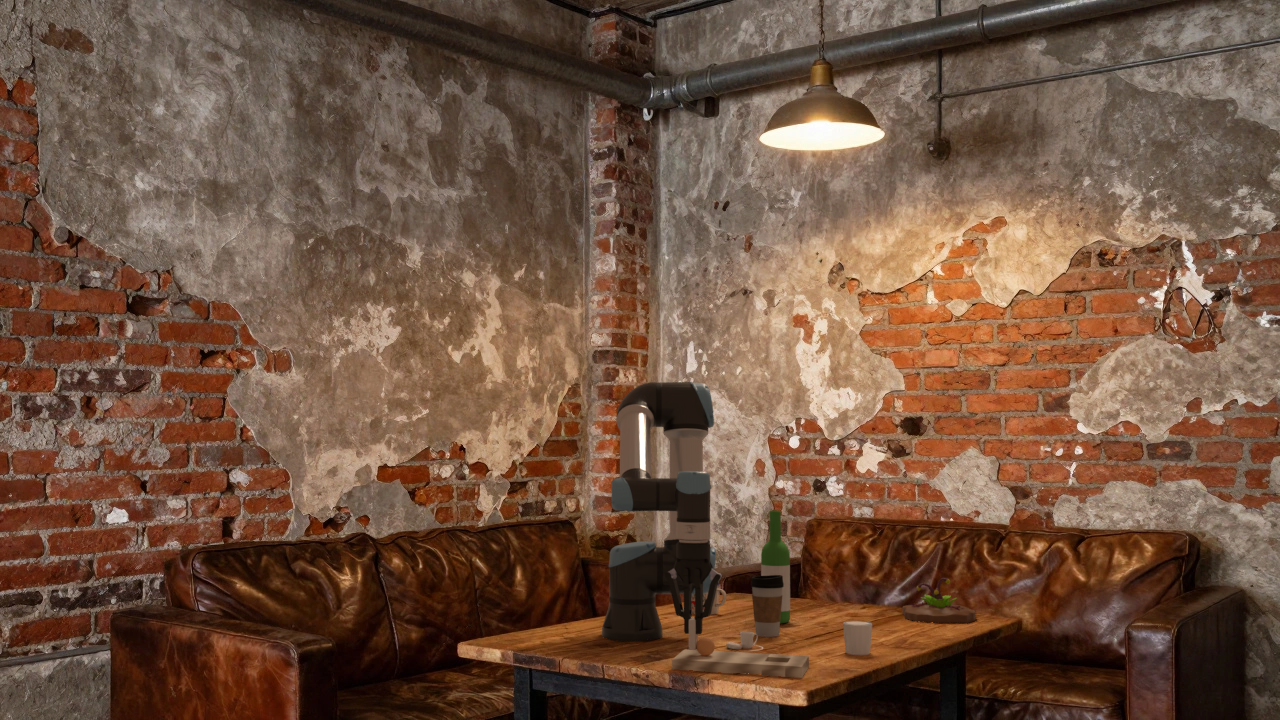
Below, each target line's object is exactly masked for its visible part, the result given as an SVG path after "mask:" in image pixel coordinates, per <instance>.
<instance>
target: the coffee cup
mask: <svg viewBox="0 0 1280 720" xmlns="http://www.w3.org/2000/svg"><path fill="white" fill-rule="evenodd" d="M783 585H784V583H783V576H782V575H769V576H761V575H755V576H754V575H753V576H752V577H751V581H750V587H751V588H752V589H751V591H752V594H751V597H752V600H751V601H752V606H753V607H752V608H753V618H754V627H755V628H754V630H755V632H754V633H755V634H757V635H758V637H765V638H772V637H773V638H774V637H779V636H780V628H781V627H780V626H781V625H780V624H781V623H780V617H781V606H782V587H784V586H783ZM757 635H756V636H757Z"/></svg>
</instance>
